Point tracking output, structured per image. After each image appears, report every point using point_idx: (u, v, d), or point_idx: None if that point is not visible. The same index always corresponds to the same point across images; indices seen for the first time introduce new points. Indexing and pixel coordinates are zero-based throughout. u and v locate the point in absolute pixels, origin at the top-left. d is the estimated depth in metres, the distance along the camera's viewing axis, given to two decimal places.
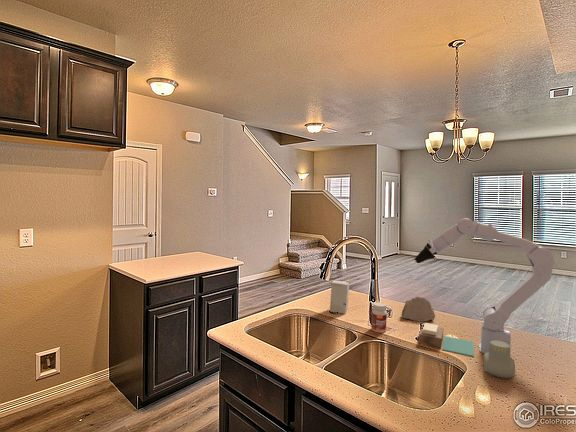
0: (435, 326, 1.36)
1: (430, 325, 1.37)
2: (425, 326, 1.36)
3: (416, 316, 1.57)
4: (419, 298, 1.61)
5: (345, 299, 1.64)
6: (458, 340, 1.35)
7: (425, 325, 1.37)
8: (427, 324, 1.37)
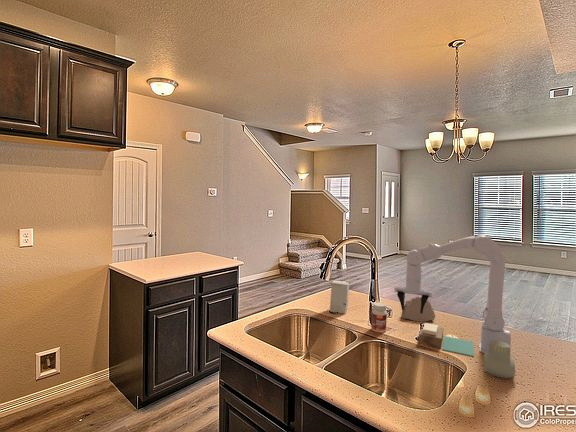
0: (435, 326, 1.36)
1: (430, 325, 1.37)
2: (425, 326, 1.36)
3: (416, 316, 1.57)
4: (419, 298, 1.61)
5: (345, 299, 1.64)
6: (458, 340, 1.35)
7: (425, 325, 1.37)
8: (427, 324, 1.37)
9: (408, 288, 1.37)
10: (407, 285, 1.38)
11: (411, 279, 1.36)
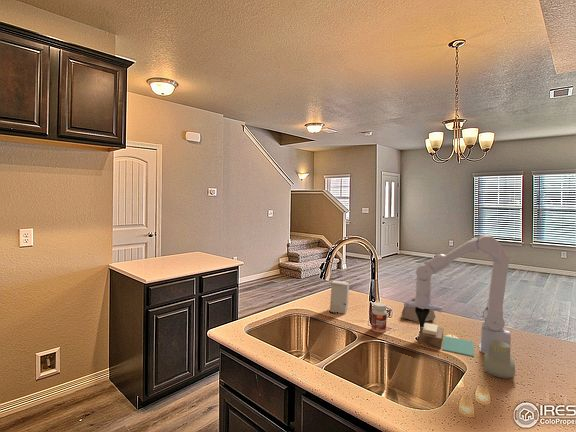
0: (435, 326, 1.36)
1: (430, 325, 1.37)
2: (425, 326, 1.36)
3: (416, 316, 1.57)
4: None
5: (345, 299, 1.64)
6: (458, 340, 1.35)
7: (425, 325, 1.37)
8: (427, 324, 1.37)
9: (418, 303, 1.35)
10: (417, 300, 1.36)
11: (421, 294, 1.34)
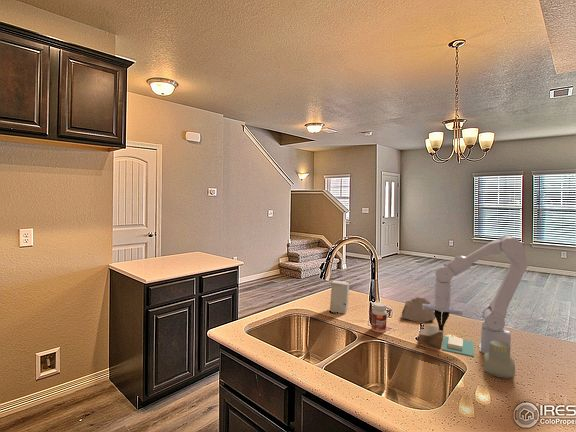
0: None
1: None
2: None
3: (416, 316, 1.57)
4: (419, 298, 1.60)
5: (345, 299, 1.64)
6: None
7: None
8: None
9: (437, 306, 1.32)
10: (436, 303, 1.33)
11: (441, 297, 1.31)
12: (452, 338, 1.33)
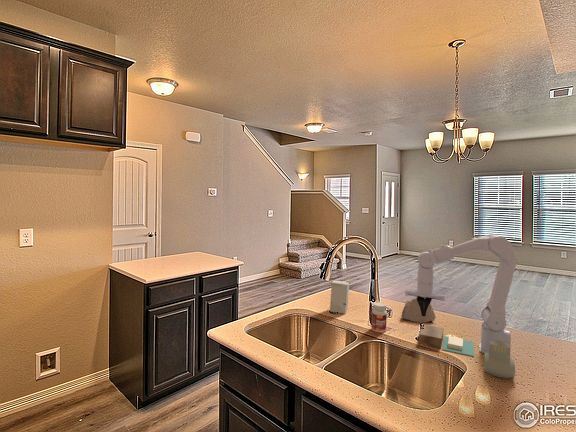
0: None
1: None
2: None
3: (416, 317, 1.56)
4: None
5: (345, 299, 1.64)
6: None
7: None
8: None
9: (420, 292, 1.32)
10: (418, 288, 1.33)
11: (424, 282, 1.31)
12: (452, 338, 1.33)
